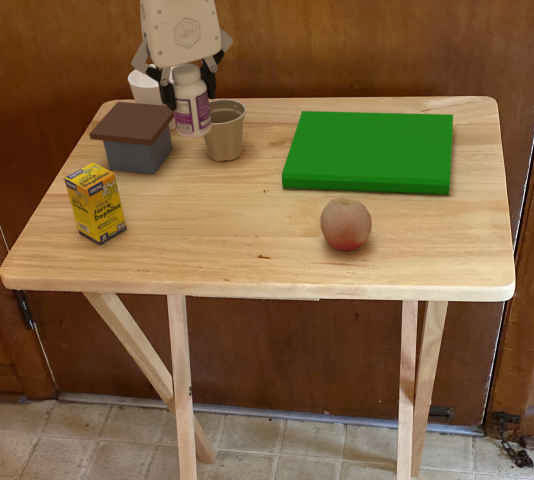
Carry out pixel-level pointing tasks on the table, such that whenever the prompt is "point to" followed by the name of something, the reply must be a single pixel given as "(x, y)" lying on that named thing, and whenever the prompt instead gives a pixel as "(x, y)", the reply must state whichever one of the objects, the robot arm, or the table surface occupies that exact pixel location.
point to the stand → (135, 136)
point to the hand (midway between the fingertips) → (189, 100)
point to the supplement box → (96, 203)
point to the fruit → (345, 224)
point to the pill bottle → (190, 102)
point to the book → (371, 152)
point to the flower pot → (225, 129)
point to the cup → (147, 90)
